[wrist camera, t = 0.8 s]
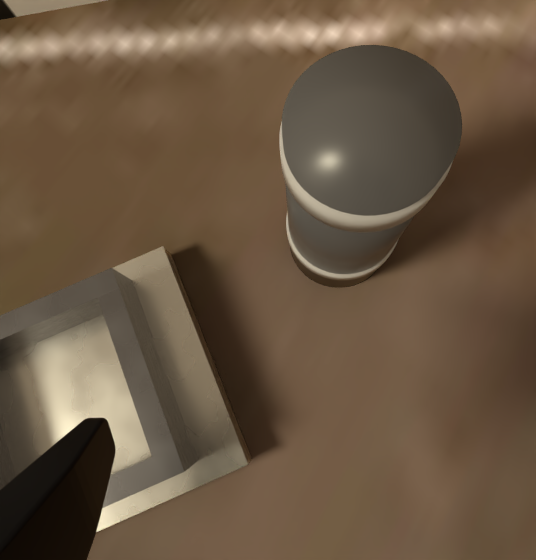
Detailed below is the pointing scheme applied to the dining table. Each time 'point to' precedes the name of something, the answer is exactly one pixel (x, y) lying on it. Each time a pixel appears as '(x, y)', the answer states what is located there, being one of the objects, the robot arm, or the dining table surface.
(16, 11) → the checkerboard
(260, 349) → the dining table surface
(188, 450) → the white base plate
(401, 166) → the grey rounded cylinder
